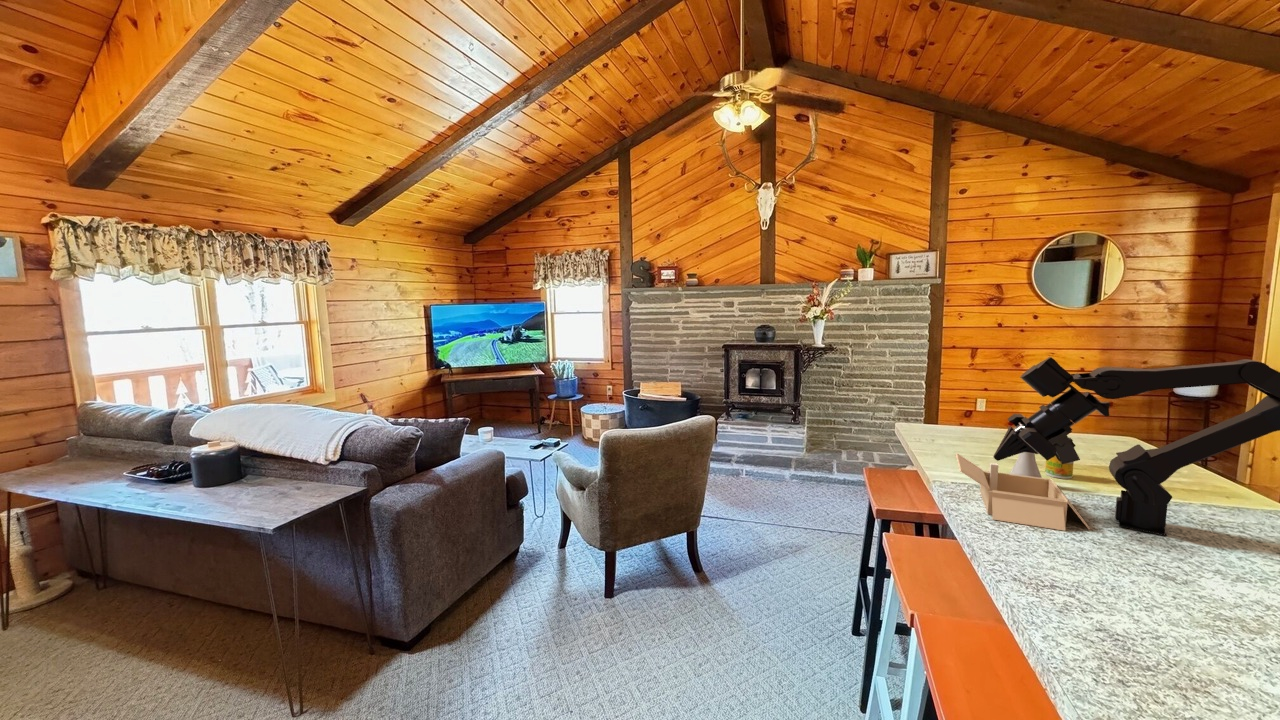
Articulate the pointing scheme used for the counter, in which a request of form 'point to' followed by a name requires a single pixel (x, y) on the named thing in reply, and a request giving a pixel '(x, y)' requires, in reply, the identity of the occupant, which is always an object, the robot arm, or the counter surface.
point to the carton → (1027, 501)
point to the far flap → (972, 471)
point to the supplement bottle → (1058, 469)
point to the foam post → (993, 476)
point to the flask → (1026, 465)
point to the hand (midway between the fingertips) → (995, 458)
